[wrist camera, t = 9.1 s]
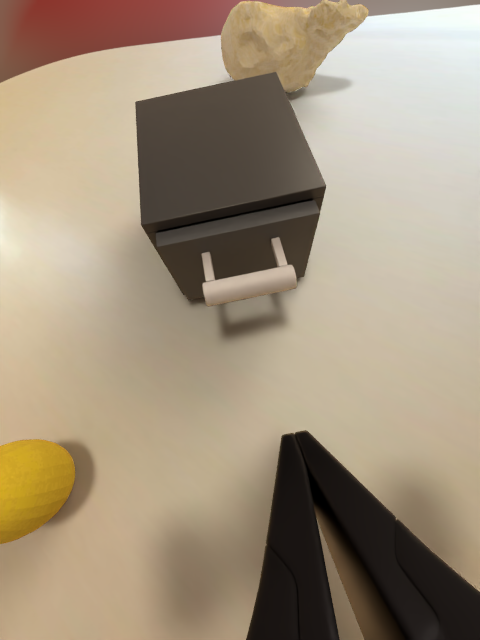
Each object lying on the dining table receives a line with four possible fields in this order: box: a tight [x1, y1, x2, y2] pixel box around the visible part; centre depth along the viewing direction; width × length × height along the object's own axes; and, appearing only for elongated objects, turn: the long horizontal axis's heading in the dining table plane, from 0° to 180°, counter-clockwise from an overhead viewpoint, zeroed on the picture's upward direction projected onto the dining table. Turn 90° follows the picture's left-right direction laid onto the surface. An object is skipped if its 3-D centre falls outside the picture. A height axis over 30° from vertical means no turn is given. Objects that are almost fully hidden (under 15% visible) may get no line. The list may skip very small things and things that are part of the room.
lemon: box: [0, 439, 75, 544], centre depth 17 cm, size 6×6×8 cm
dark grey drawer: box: [156, 200, 320, 306], centre depth 22 cm, size 16×11×8 cm, turn 10°
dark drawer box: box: [135, 72, 326, 295], centre depth 24 cm, size 14×12×10 cm
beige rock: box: [221, 0, 368, 93], centre depth 34 cm, size 15×7×15 cm
